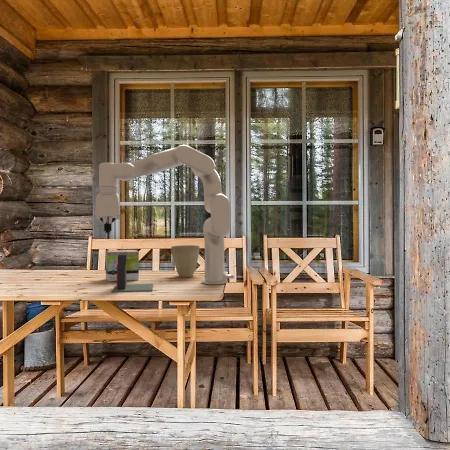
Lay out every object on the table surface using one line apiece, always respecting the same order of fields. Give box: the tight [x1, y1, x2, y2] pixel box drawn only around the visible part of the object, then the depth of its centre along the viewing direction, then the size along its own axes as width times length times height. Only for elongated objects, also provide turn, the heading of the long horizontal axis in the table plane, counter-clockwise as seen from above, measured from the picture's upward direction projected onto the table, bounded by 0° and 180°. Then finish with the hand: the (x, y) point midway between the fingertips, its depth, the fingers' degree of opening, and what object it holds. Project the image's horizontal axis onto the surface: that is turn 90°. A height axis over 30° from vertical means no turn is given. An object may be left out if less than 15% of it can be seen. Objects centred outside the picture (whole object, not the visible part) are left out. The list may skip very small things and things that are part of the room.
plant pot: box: [171, 244, 201, 278], centre depth 233 cm, size 15×15×16 cm
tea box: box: [105, 249, 140, 282], centre depth 222 cm, size 15×10×15 cm, turn 112°
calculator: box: [116, 253, 128, 289], centre depth 196 cm, size 11×4×15 cm, turn 9°
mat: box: [111, 283, 154, 293], centre depth 197 cm, size 17×16×1 cm
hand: (107, 232), depth 195 cm, fingers closed
